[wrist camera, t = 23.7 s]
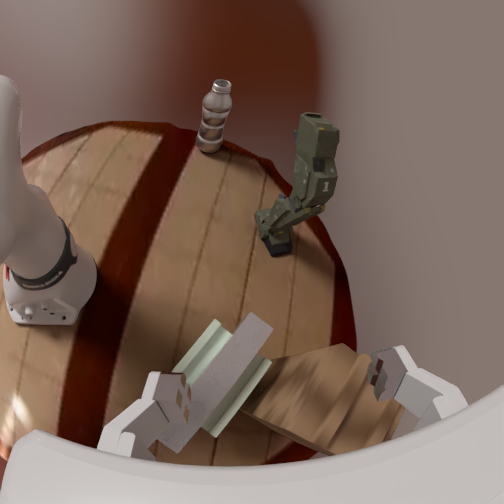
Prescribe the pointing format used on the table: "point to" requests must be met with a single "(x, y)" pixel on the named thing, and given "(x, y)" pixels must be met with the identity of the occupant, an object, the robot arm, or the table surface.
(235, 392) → the shelf block
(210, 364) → the link bar
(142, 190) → the table surface
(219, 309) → the table surface
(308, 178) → the mechanical leg
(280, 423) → the wood grain block
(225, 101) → the plastic bottle
